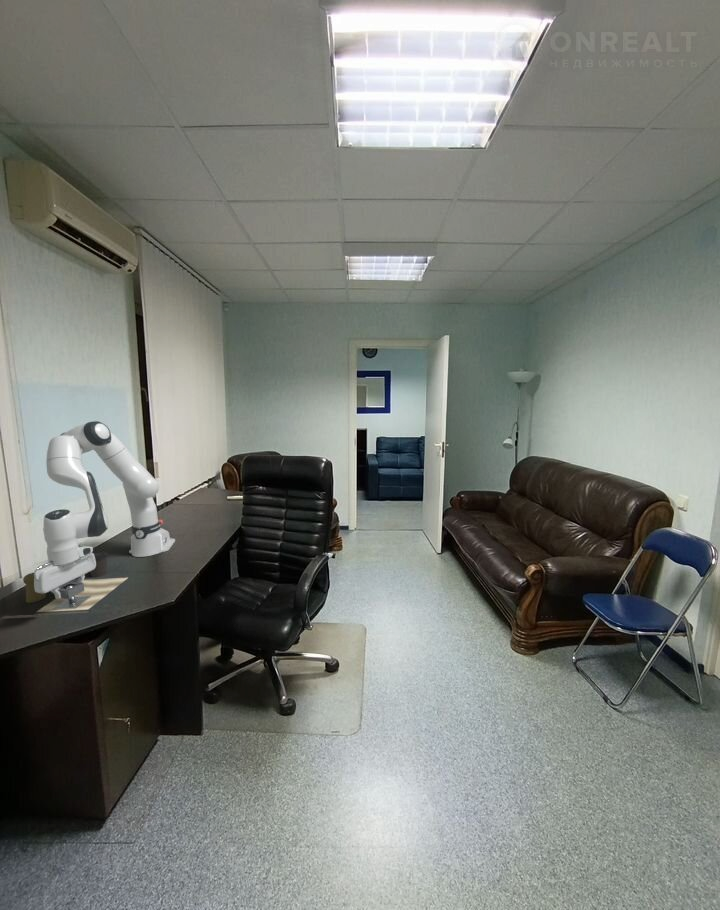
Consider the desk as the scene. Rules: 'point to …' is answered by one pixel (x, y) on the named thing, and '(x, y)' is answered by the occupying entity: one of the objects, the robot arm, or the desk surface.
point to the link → (71, 589)
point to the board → (92, 588)
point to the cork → (32, 589)
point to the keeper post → (71, 602)
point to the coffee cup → (100, 564)
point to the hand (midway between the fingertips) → (69, 592)
